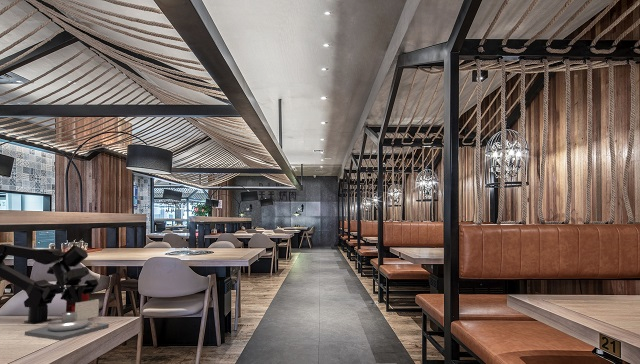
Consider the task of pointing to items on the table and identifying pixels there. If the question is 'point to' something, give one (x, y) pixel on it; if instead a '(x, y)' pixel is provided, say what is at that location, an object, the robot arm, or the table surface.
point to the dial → (76, 316)
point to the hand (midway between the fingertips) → (80, 306)
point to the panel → (63, 335)
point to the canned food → (71, 307)
